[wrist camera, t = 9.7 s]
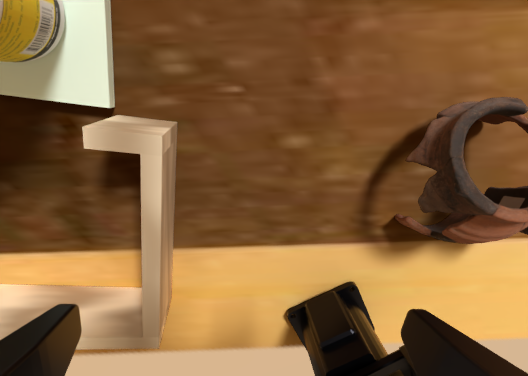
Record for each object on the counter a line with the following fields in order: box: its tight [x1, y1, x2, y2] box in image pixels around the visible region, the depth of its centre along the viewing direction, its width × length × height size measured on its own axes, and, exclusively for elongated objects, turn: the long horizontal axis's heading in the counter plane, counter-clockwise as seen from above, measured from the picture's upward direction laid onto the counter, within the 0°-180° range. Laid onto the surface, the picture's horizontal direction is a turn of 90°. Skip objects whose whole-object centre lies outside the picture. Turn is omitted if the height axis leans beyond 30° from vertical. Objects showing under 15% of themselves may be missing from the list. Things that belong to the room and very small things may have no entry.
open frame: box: [0, 115, 177, 350], centre depth 16 cm, size 16×14×4 cm
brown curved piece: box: [395, 97, 528, 244], centre depth 19 cm, size 12×10×8 cm
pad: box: [0, 0, 115, 108], centre depth 14 cm, size 9×9×1 cm
